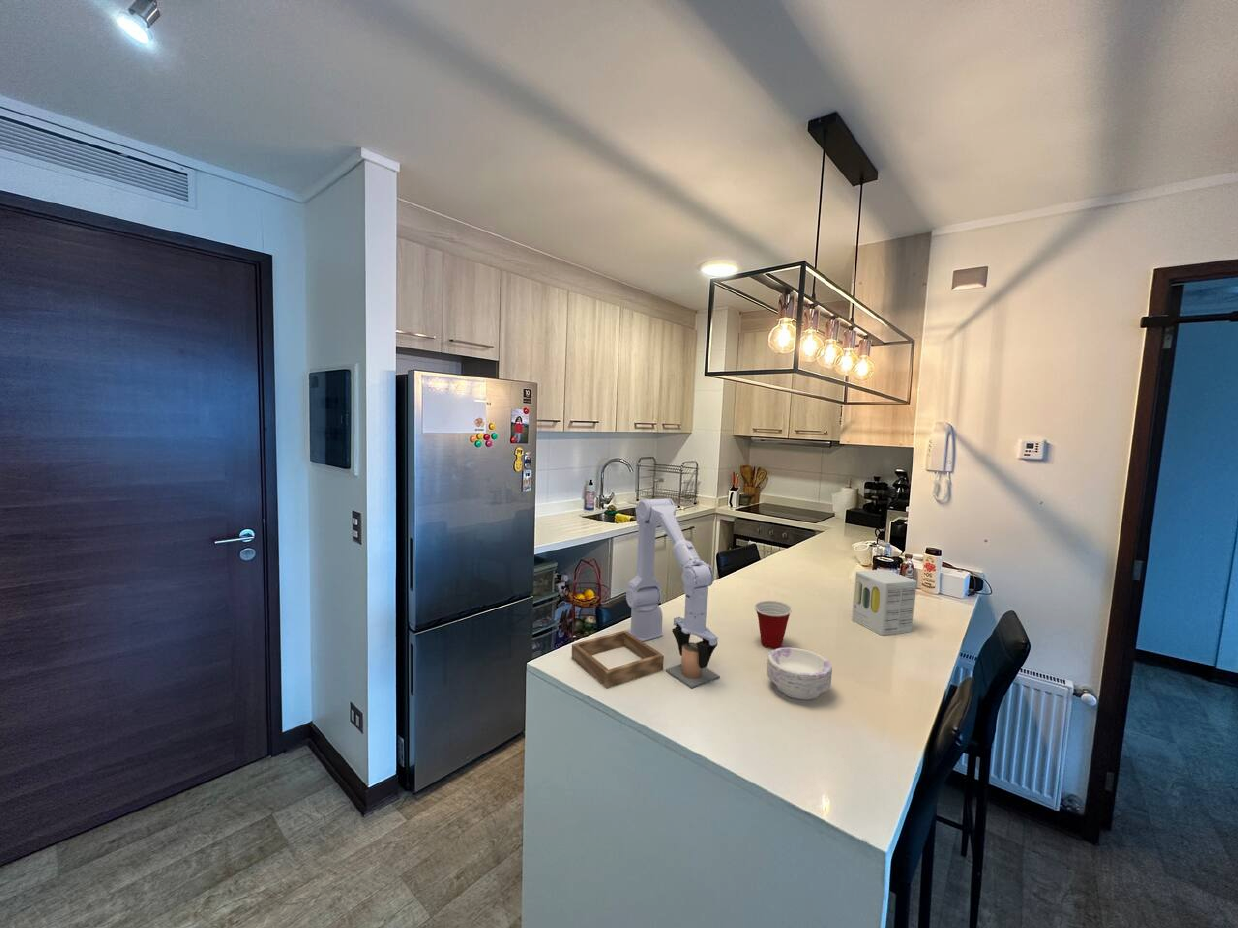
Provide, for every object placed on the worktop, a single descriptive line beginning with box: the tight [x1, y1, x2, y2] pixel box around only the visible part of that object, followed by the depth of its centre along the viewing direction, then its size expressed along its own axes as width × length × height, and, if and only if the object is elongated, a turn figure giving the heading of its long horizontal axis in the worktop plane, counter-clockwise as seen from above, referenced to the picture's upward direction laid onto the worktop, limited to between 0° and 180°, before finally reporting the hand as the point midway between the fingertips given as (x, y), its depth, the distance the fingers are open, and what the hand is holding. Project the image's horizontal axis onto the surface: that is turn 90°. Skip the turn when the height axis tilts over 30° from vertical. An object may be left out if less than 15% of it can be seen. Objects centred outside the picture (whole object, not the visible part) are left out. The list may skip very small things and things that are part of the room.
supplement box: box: [851, 568, 917, 636], centre depth 164 cm, size 13×13×18 cm
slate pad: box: [665, 664, 721, 690], centre depth 128 cm, size 10×10×1 cm
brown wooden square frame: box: [571, 630, 665, 689], centre depth 132 cm, size 18×18×4 cm
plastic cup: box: [754, 600, 793, 650], centre depth 147 cm, size 11×11×12 cm
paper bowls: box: [766, 647, 833, 701], centre depth 122 cm, size 15×15×8 cm
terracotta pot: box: [680, 641, 702, 679], centre depth 127 cm, size 6×6×7 cm
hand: (693, 660), depth 128 cm, fingers open, 7 cm apart
